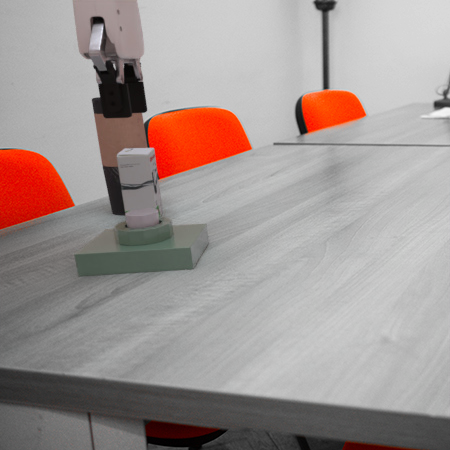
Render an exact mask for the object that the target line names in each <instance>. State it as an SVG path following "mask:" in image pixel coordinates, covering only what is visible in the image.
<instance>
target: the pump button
mask: <svg viewBox="0 0 450 450" xmlns="http://www.w3.org/2000/svg"><path fill="white" fill-rule="evenodd" d="M124 216H125V221H126V222H127V228H132V229H135V228H146V227H152V226H155V225H158V224H160V222H159V215H158V210H157V209H155V208H141V209H135V210H131V211H128V212H126V213H125V215H124Z"/></svg>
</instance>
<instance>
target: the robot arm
mask: <svg viewBox="0 0 450 450" xmlns="http://www.w3.org/2000/svg"><path fill="white" fill-rule="evenodd" d="M72 7H73V16H74V24H75V31H76V40H77V47H78V52H79V55H81V57H83V59H85V60H91V62H92V64H93V65H92V67H93V69H94V70H95V81H96V83H97V87H98V93H99V97H100V100H101V106H102V112H103V116H104V117H105V118H129V117H131V116H132V113H142V114H145V113H147V112H148V105H147V99H146V91H145V90H146V89H145V84H144V75H143V71H142V63H141V58H142V57H143V55H145V43H144V42H145V41H144V34H143V33H144V32H143V26H142V20H141V15H140V9H139V4H138V0H72Z"/></svg>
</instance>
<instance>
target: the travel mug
mask: <svg viewBox="0 0 450 450" xmlns="http://www.w3.org/2000/svg"><path fill="white" fill-rule="evenodd" d="M91 103H92V110H93V111H92V112H93V116H94V123H95V129H96V134H97V141H98V147H99V154H100V159H101V160H100V161H101V165H102V171H103V176H104V180H105V184H106V186H105V187H106V190H107V194H108V200H109V204H110V209H111V213H112V214H113V215H117V216H125V209H124V202H123V196H122V189H121V183H120V177H119V170H118V163H117V154H118V153H119V152H120V151H122V150H123V149H126V148H149V147H148V142H147V134H146V129H145V123H144V117H143V116H144V115H143V113H132V116H131V117H129V118H105V117H104V116H103V112H102V106H101V100H100V96H99V97H92V98H91Z"/></svg>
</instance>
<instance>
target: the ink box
mask: <svg viewBox="0 0 450 450" xmlns="http://www.w3.org/2000/svg"><path fill="white" fill-rule="evenodd" d="M156 159H157V158H156V151H155V148H154V147H148V148H126V149H123V150H122V151H120V152H119V153H118V154H117V163H118V170H119V177H120V183H121V189H122V196H123V202H124V209H125V213H126V212H128V211H131V210H135V209H141V208H155V209H157V210H158V215H159V217H163V216H162V215H163V213H164V211H163V203H162V195H161V188H160V180H159V173H158V166H157V160H156Z"/></svg>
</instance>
